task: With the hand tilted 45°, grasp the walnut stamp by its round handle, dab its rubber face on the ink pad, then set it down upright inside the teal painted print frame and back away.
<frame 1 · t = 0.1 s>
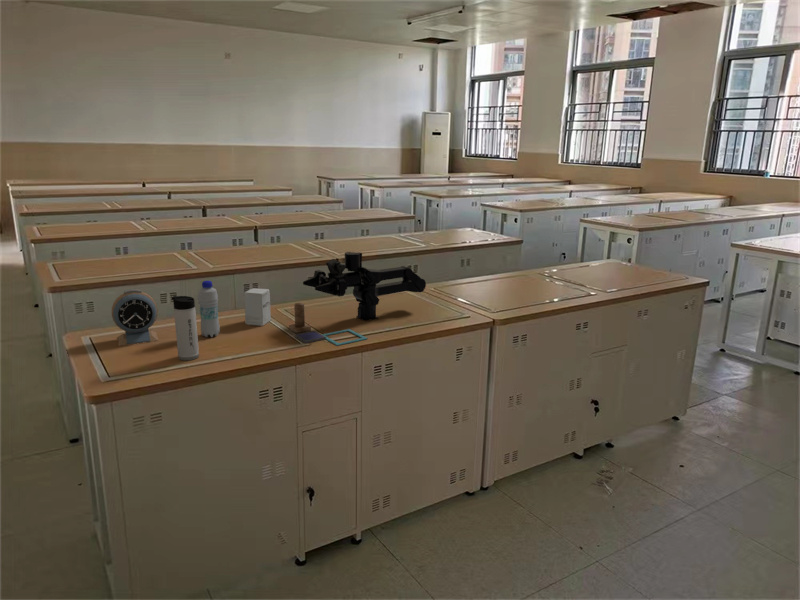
hand: (309, 285, 206), 17 cm above the table, tool horizontal, fingers open, 9 cm apart
print frame: (343, 337, 202), on the table
bottle: (210, 335, 202), on the table
alarm clock: (138, 339, 197), on the table
ink pad: (310, 338, 201), on the table
stamp: (300, 330, 209), on the table
supplement box: (258, 323, 217), on the table
travel mug: (188, 357, 181), on the table
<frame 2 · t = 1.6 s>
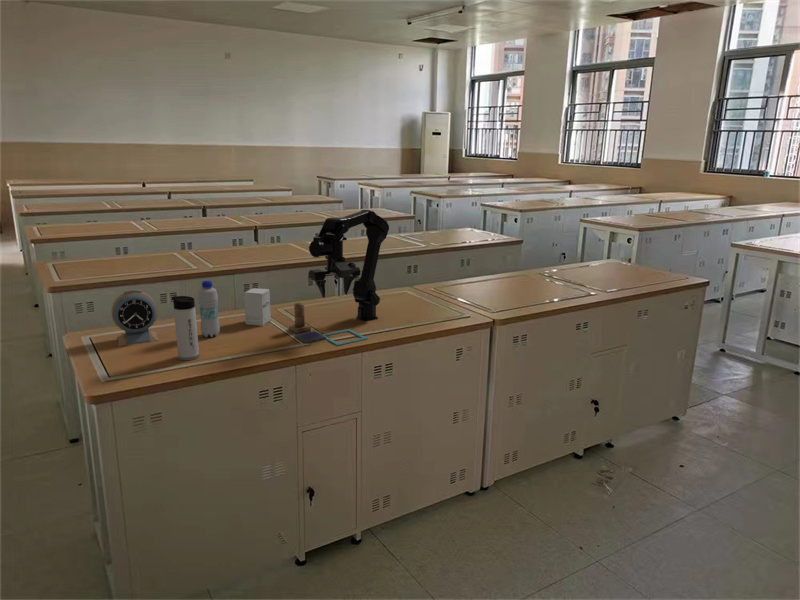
hand: (334, 295, 206), 13 cm above the table, tool pointing down, fingers open, 9 cm apart
nothing on the table moved.
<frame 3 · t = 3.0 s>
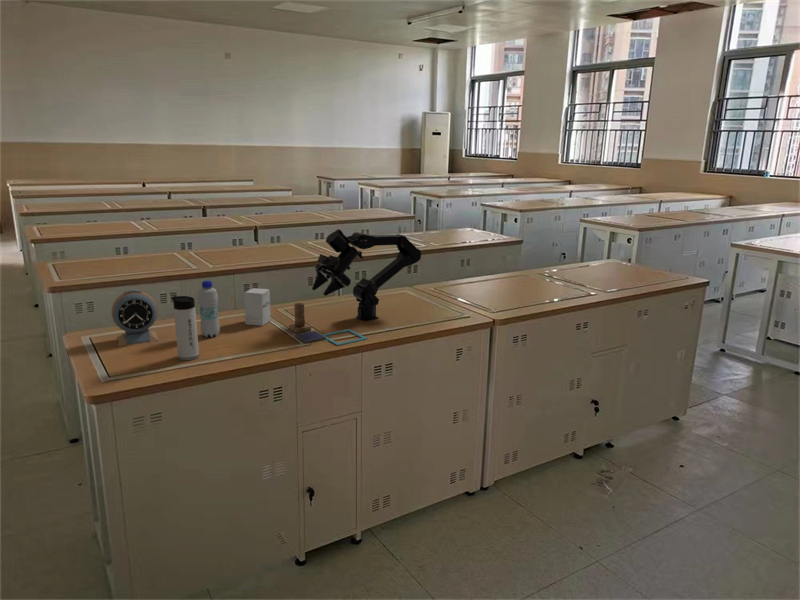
hand: (318, 292, 210), 13 cm above the table, tool tilted 45°, fingers open, 9 cm apart
nothing on the table moved.
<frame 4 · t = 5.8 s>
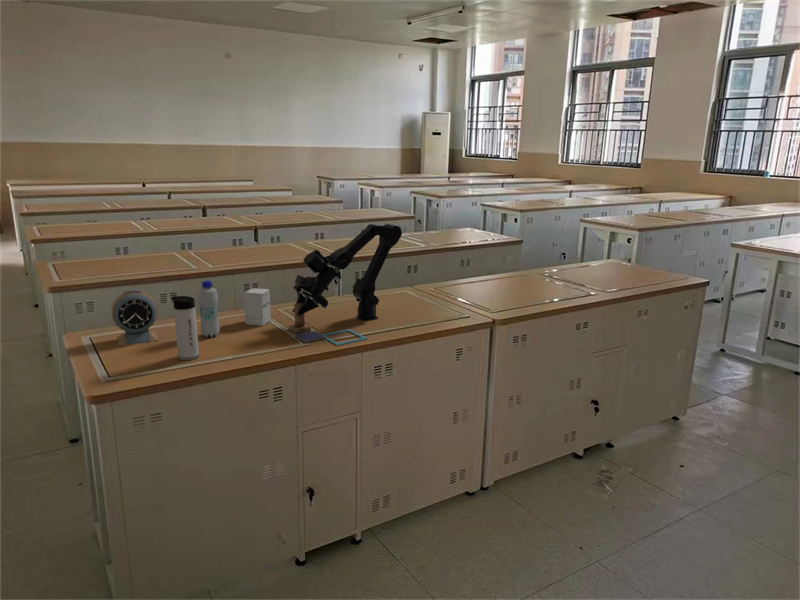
hand: (295, 313, 206), 7 cm above the table, tool tilted 45°, fingers closed on stamp, 3 cm apart
stamp: (299, 330, 209), on the table, touching gripper
everything else where it was.
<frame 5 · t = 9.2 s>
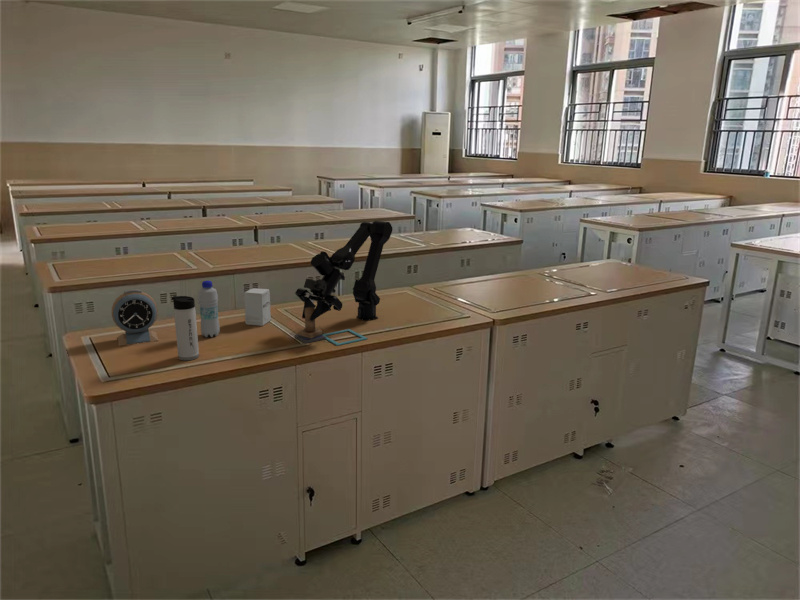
hand: (306, 319, 198), 7 cm above the table, tool tilted 45°, fingers closed on stamp, 3 cm apart
stamp: (310, 335, 201), point 1 cm above the table, touching gripper, ink pad
everything else where it was.
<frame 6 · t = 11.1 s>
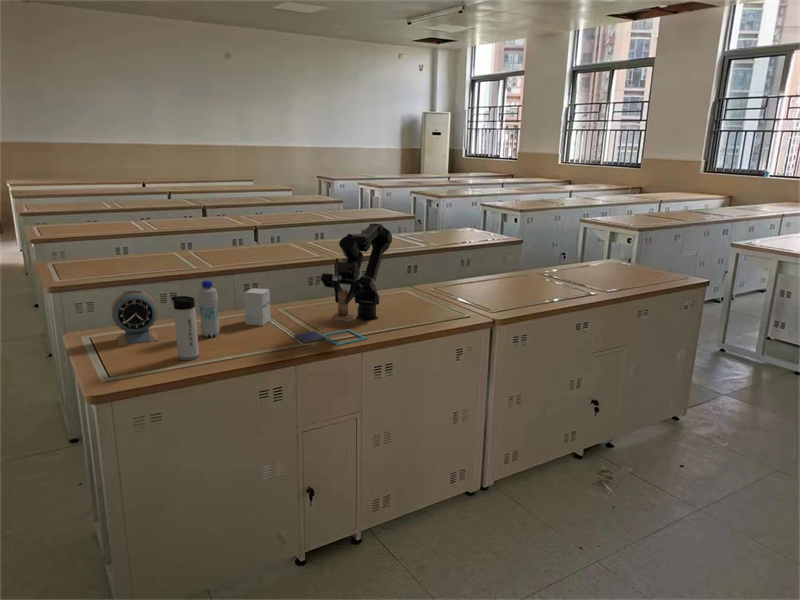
hand: (341, 302, 197), 13 cm above the table, tool tilted 45°, fingers closed on stamp, 3 cm apart
stamp: (343, 318, 200), point 7 cm above the table, touching gripper
everything else where it was.
when the fingers open (8 cm above the table, at t = 12.5 s): stamp drops 2 cm, on the table.
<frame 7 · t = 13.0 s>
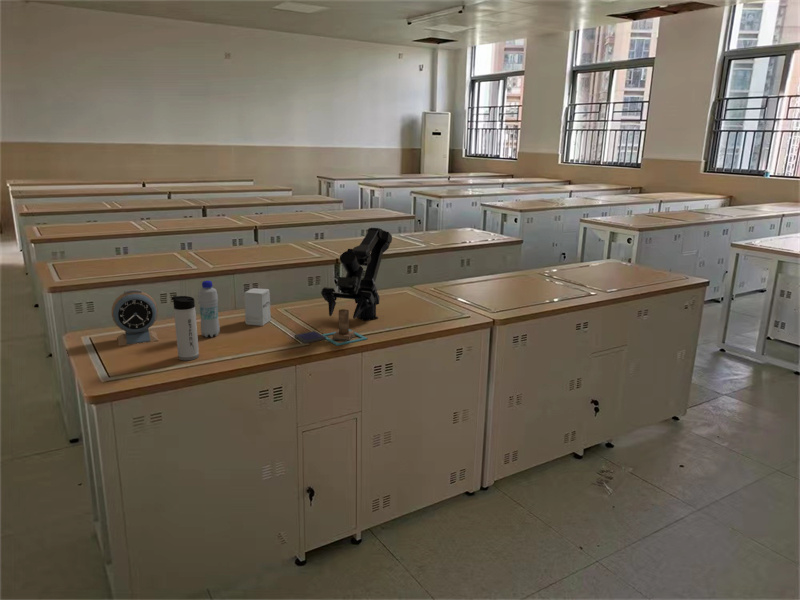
hand: (341, 317, 198), 8 cm above the table, tool tilted 45°, fingers open, 9 cm apart
stamp: (343, 337, 202), on the table
everything else where it was.
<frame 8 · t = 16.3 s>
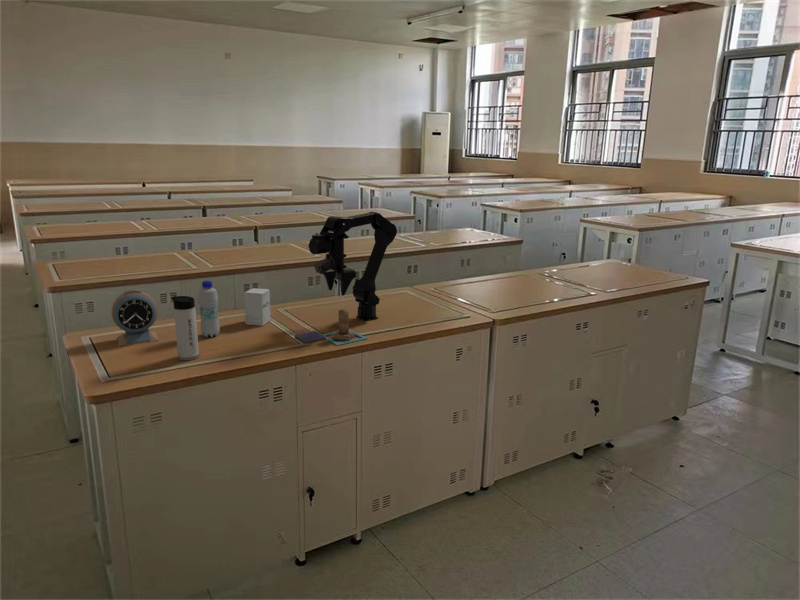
hand: (336, 292, 211), 13 cm above the table, tool pointing down, fingers open, 9 cm apart
nothing on the table moved.
at the end: stamp inside the target area on the print frame (0.2 cm from its centre), point 0.0 cm above the print frame's base; stamp tilted 0°; the gripper is holding nothing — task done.
